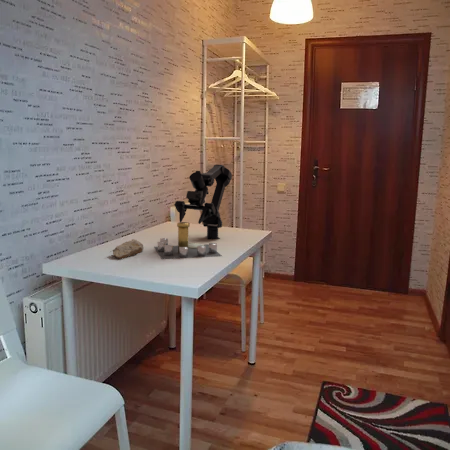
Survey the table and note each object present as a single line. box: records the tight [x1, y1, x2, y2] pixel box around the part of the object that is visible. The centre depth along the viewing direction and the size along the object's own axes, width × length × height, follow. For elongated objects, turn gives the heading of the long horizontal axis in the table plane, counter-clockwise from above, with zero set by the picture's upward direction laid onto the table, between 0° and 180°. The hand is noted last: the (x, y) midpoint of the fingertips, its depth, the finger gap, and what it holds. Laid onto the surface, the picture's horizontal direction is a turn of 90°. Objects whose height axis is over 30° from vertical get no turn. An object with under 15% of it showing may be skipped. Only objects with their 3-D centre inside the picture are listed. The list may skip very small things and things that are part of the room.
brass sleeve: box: [176, 221, 190, 253], centre depth 194 cm, size 5×5×13 cm
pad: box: [188, 242, 205, 249], centre depth 207 cm, size 9×9×1 cm
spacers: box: [157, 237, 218, 259], centre depth 194 cm, size 16×28×4 cm, turn 70°
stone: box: [110, 238, 144, 260], centre depth 192 cm, size 21×6×10 cm
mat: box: [153, 243, 223, 260], centre depth 197 cm, size 24×26×1 cm
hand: (189, 222), depth 199 cm, fingers open, 9 cm apart
